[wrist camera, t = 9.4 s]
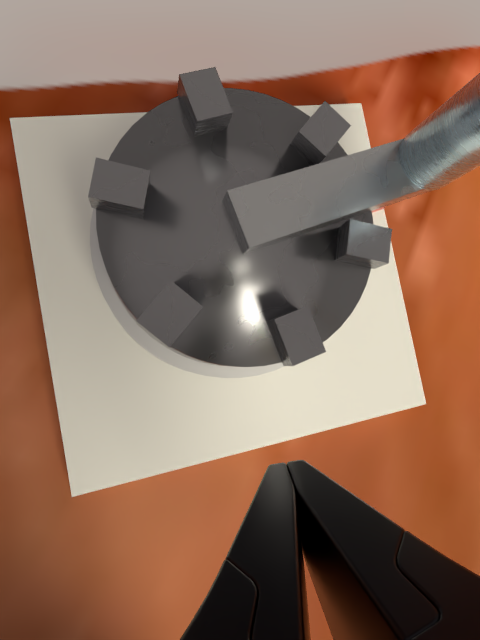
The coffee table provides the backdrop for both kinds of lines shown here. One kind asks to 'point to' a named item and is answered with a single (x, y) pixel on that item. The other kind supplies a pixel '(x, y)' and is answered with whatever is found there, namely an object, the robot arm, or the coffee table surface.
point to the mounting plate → (147, 393)
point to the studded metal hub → (258, 216)
